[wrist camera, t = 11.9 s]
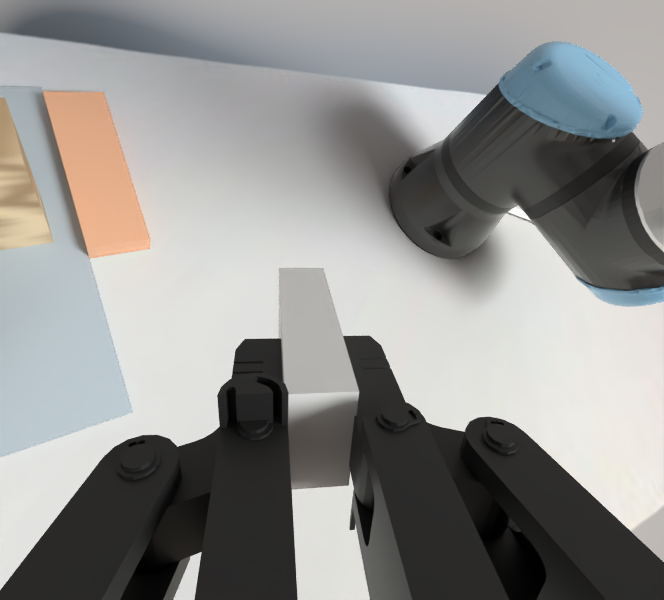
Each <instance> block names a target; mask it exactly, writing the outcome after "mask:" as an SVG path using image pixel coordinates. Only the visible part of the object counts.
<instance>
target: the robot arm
mask: <svg viewBox="0 0 664 600" xmlns="http://www.w3.org/2000/svg"><path fill="white" fill-rule="evenodd" d="M641 118H642V106H641V103H640V100H639V98H638V97H637V96H636V95H635V94H633V88H632V87H631V85H630V84H629V83H628V82H627V81H626V79H625V78H624V77H623V76H622V75H621V74H620V73H619V72H617V70H616V69H614V68H613V67H612V66H611V65H610V64H609V63H607V62H606V61H605V60H603V59H602V58H600V57H599V56H597V55H595V54H594V53H592V52H590V51H588V50H587V49H585V48H582V47H580V46H577V45H574V44H571V43H567V42H549V43H545V44H542V45H540V46H538V47H536V48H535V49H534V50H532V51H531V52H530V53H529V54H528V55H527V56H526V57H525V58H524V59H523V60H521V61H520V62H519V63H518V64H517V65H516V66H515V67H514V68H513V69H512V70H510V71H508V72H506V73H505V74H504V75H503V76H502V77H501V79H500V82H499V83H498V84H497V85H496V86H495V88H494V89H493V90H492V91H491V92H490V93H489V94H488V95H487V96H486V97H485V98H484V99H483V100H482V101H481V102H480V103H479V104H478V105H477V106H476V107H475V108H474V109H473V110H472V112H471V113H470V114H469V115H468V116H467V117H466V118H465V119H464V120H463V121H462V122H461V123H460V124H459V125H458V126H457V127H456V128H455V129H454V130H453V131H452V132H451V133H450V134H449V135H448V136H447V137H446V138H445V139H444V140H442V141H440V142H438V143H436V144H434V145H432V146H430V147H428V148H426V149H424V150H422V151H420V152H418V153H416V154H414V155H412V156H411V157H409V158H408V159H407V160H406V161H405V162H404V163H403V164H402V165H401V166H400V167H399V168H398V169H397V171H396V172H395V173H394V175H393V177H392V179H391V182H390V189H389V196H390V202H391V207H392V210H393V213H394V215H395V217H396V219H397V221H398V223H399V225H400V226H401V228H402V229H403V230H404V232H405V233H406V234H407V235H408V236H409V238H410V239H411V240H412V241H413V242H415V243H416V244H417V245H418V246H419V247H421V248H422V249H424V250H425V251H427V252H429V253H431V254H433V255H436V256H439V257H442V258H449V259H454V258H460V257H463V256H465V255H467V254H469V253H470V252H472V251H473V250H475V249H477V248H478V247H479V246H480V245H481V244H482V243H484V241H485V240H486V239H487V237H488V236H489V235H490V233H491V232H492V231H493V229H494V228H495V227H496V225H497V224H498V223H499V221H500V220H501V219H502V217H503V216H504V215H505V213H507V212H508V211H510V210H511V209H513V208H514V207H516V206H517V205H519V207H520V208H521V209H522V210H523V211H524V212H525V214H526V215H527V216H528V217H529V219H530V220H531V221H532V222H533V223H534V225H535V226H536V227H537V228H538V230H539V231H540V232H541V233H542V235H543V236H544V237H545V238H546V240H547V241H548V242H549V243H550V245H551V246H552V247H553V248H554V250H555V251H556V252H557V253H558V255H559V256H560V257H561V258H562V260H563V261H564V262H565V263H566V265H567V266H568V267H569V268H570V270H571V271H572V272H573V274H574V275H575V276H576V278H577V279H578V280H579V281H580V282H581V283H582V284H584V285H585V286H587V288H588V289H589V290H590V291H591V292H592V293H593V294H594V295H595V296H596V297H597V298H599V299H600V300H602V301H604V302H606V303H609V304H612V305H617V306H627V307H628V306H644V305H651V304H655V303H659V302H663V301H664V142H663V143H661V144H659V145H657V146H655V147H653V148H651V149H650V150H648V149H647V148H646V147H645V146H644V145H643V144H642V142H641V141H640V140H639V139H638V138H637V137H636V136H635V135H634V133H633V132H632V131H633V130H634V129H635V128H636V126H637V124H638V123H639V122H640V120H641ZM217 396H218V408H219V421H220V427H219V428H218V429H217V430H215V431H214V432H213V433H212V434H210V435H208V436H207V437H205V438H203V439H200V440H198V441H195V442H192V443H189V444H185V445H182V446H179V447H177V446H176V445H175V444H174V443H173V442H172V441H171V440H170V439H168V438H165V437H162V436H159V435H142V436H139V437H135V438H132V439H128V440H126V441H125V442H123V443H121V444H119V445H117V446H115V447H114V448H113V449H112V450H111V451H110V452H109V453H108V454H106V455H105V456H104V457H103V458H102V460H101V461H100V462H99V464H98V465H97V466H96V468H95V469H94V470H93V471H92V473H91V474H90V475H89V477H88V478H87V479H86V480H85V482H84V483H83V484H82V486H81V487H80V488H79V489H78V491H77V492H76V493H75V495H74V496H73V497H72V498H71V500H70V501H69V502H68V504H67V505H66V506H65V508H64V509H63V510H62V511H61V513H60V514H59V515H58V517H57V518H56V519H55V520H54V522H53V523H52V524H51V526H50V527H49V528H48V529H47V531H46V532H45V533H44V535H43V536H42V537H41V538H40V540H39V541H38V542H37V544H36V545H35V546H34V548H33V549H32V550H31V551H30V553H29V554H28V555H27V557H26V558H25V559H24V560H23V562H22V563H21V564H20V566H19V567H18V568H17V569H16V571H15V572H14V573H13V575H12V576H11V577H10V579H9V580H8V581H7V582H6V584H5V585H4V586H3V588H2V589H1V590H0V600H173V598H174V596H175V594H176V591H177V589H178V586H179V584H180V582H181V579H182V577H183V574H184V572H185V570H186V567H187V565H188V562H189V560H190V556H192V555H195V554H197V553H199V552H202V554H201V560H200V567H199V574H198V581H197V587H196V594H195V600H297V584H296V565H295V547H294V528H293V509H292V491H291V489H304V488H318V487H332V486H346V485H349V478H350V471H351V476H352V481H353V486H354V491H353V499H352V508H351V516H350V530H355V523H356V528H357V533H358V539H359V544H360V549H361V554H362V559H363V565H364V570H365V575H366V580H367V585H368V591H369V596H370V600H664V562H663V561H662V560H660V559H659V558H658V557H657V556H656V555H655V554H654V553H653V552H652V551H651V550H650V549H649V548H648V547H647V546H646V545H645V544H643V543H642V542H641V541H640V540H639V539H638V538H637V537H636V536H635V535H634V534H633V533H632V532H631V531H630V530H629V529H627V528H626V527H625V526H624V525H623V524H622V523H621V522H620V521H619V520H618V519H617V518H616V517H615V516H614V515H613V514H611V513H610V512H609V511H608V510H607V509H606V508H605V507H604V506H603V505H602V504H601V503H600V502H599V501H598V500H596V499H595V498H594V497H593V496H592V495H591V494H590V493H589V492H588V491H587V490H586V489H585V488H584V487H583V486H582V485H580V484H579V483H578V482H577V481H576V480H575V479H574V478H573V477H572V476H571V475H570V474H569V473H568V472H567V471H566V470H564V469H563V468H562V467H561V466H560V465H559V464H558V463H557V462H556V461H555V460H554V459H553V458H552V457H551V456H550V455H548V454H547V453H546V452H545V451H544V450H543V449H542V448H541V447H540V446H539V445H538V444H537V443H536V442H535V441H534V440H532V439H531V438H530V437H529V436H528V435H527V434H526V433H525V432H524V431H522V430H521V429H519V428H518V427H517V426H515V425H514V424H512V423H509V422H507V421H505V420H502V419H498V418H493V417H480V418H476V419H474V420H472V421H470V422H469V424H468V426H467V427H466V429H465V432H462V431H457V430H452V429H447V428H442V427H438V426H435V425H432V424H429V423H427V422H426V420H425V418H424V417H423V415H422V414H421V413H420V411H419V410H418V409H416V408H415V407H413V406H412V405H410V404H408V403H406V402H405V400H404V398H403V395H402V393H401V391H400V388H399V386H398V384H397V381H396V379H395V377H394V375H393V372H392V370H391V369H390V365H389V363H388V361H387V359H386V356H385V354H384V351H383V349H382V347H381V345H380V344H379V343H378V342H376V341H375V340H374V339H373V338H372V337H371V336H343V335H342V331H341V328H340V324H339V321H338V318H337V314H336V311H335V307H334V304H333V301H332V297H331V294H330V290H329V287H328V284H327V280H326V277H325V273H324V270H323V268H279V339H245V340H244V341H243V342H242V343H241V344H240V345H239V347H238V348H237V349H236V351H235V358H234V366H233V375H232V379H230V380H229V381H228V382H226V383H225V384H224V385H223V386H222V387H221V389H220V391H219V393H218V395H217Z"/></svg>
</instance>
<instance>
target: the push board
mask: <svg viewBox="0 0 664 600" xmlns="http://www.w3.org/2000/svg"><path fill="white" fill-rule="evenodd" d="M43 95H44V96H43ZM0 98H5V99H6V102H7V105H8V108H9V110H10V113H11V116H12V119H13V121H14V124H15V127H16V130H17V132H18V135H19V138H20V141H21V143H22V146H23V149H24V152H25V155H26V157H27V160H28V163H29V166H30V168H31V171H32V174H33V177H34V179H35V182H36V185H37V188H38V190H39V193H40V196H41V199H42V201H43V205H44V209H45V212H46V216H47V219H48V223H49V227H50V230H51V234H52V237H53V241H54V243H47V244H40V245H33V246H26V247H19V248H13V249H6V250H0V457H3V456H6V455H9V454H12V453H15V452H18V451H21V450H23V449H26V448H29V447H32V446H35V445H38V444H41V443H44V442H47V441H50V440H53V439H56V438H59V437H62V436H65V435H67V434H70V433H73V432H76V431H79V430H82V429H85V428H88V427H91V426H94V425H97V424H100V423H103V422H106V421H109V420H111V419H114V418H117V417H120V416H123V415H126V414H129V413H132V412H133V411H132V407H131V404H130V400H129V397H128V393H127V390H126V386H125V383H124V379H123V376H122V372H121V368H120V365H119V361H118V358H117V354H116V351H115V347H114V344H113V340H112V337H111V333H110V329H109V326H108V322H107V319H106V315H105V312H104V308H103V305H102V301H101V298H100V294H99V291H98V287H97V283H96V280H95V276H94V273H93V269H92V266H91V262H90V259H89V258H95V257H101V256H107V255H113V254H119V253H126V252H132V251H138V250H144V249H150V237H149V233H148V230H147V227H146V224H145V221H144V218H143V214H142V211H141V208H140V205H139V202H138V199H137V195H136V192H135V189H134V186H133V183H132V180H131V176H130V173H129V170H128V167H127V164H126V161H125V157H124V154H123V151H122V148H121V145H120V142H119V138H118V135H117V132H116V129H115V126H114V123H113V119H112V116H111V113H110V110H109V107H108V104H107V100H106V97H105V94H104V92H57V91H43V92H42V89H41V87H21V86H0Z"/></svg>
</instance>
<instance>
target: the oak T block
mask: <svg viewBox="0 0 664 600" xmlns="http://www.w3.org/2000/svg"><path fill="white" fill-rule="evenodd" d="M47 243H54V241H53V237H52V234H51V230H50V227H49V223H48V219H47V216H46V212H45V209H44V205H43V201H42V199H41V196H40V193H39V190H38V188H37V185H36V182H35V179H34V177H33V174H32V171H31V168H30V166H29V163H28V160H27V157H26V155H25V152H24V149H23V146H22V143H21V141H20V138H19V135H18V132H17V130H16V127H15V124H14V121H13V119H12V116H11V113H10V110H9V108H8V105H7V102H6V99H5V98H0V250H6V249H13V248H19V247H26V246H33V245H40V244H47Z"/></svg>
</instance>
